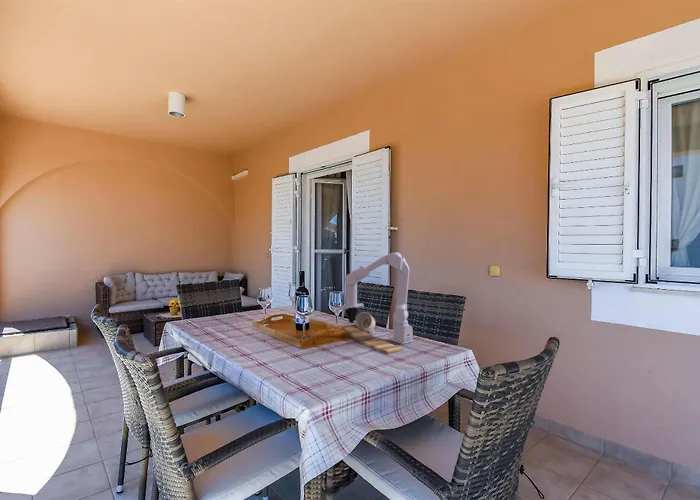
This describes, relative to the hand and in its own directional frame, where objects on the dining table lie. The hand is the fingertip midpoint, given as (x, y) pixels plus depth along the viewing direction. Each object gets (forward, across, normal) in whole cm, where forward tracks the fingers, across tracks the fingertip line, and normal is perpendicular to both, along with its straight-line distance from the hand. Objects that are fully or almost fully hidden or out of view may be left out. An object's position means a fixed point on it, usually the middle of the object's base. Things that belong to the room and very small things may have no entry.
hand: (351, 322), depth 191 cm
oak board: (+7, 0, +23) cm, 24 cm away
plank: (+5, 0, +5) cm, 7 cm away
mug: (+4, -14, -2) cm, 14 cm away
